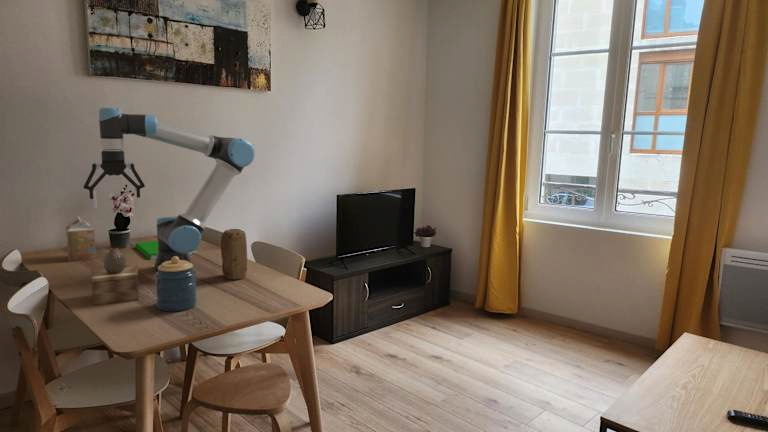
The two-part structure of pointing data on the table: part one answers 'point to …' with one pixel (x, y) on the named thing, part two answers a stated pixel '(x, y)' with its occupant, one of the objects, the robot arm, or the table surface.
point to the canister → (176, 285)
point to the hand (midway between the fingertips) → (116, 207)
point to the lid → (105, 276)
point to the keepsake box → (115, 291)
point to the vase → (114, 261)
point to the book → (151, 249)
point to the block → (234, 253)
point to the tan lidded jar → (80, 241)
